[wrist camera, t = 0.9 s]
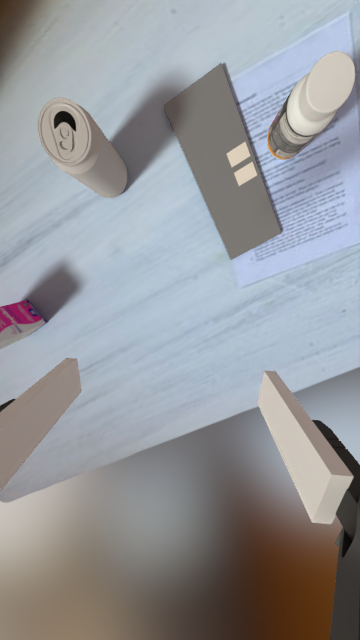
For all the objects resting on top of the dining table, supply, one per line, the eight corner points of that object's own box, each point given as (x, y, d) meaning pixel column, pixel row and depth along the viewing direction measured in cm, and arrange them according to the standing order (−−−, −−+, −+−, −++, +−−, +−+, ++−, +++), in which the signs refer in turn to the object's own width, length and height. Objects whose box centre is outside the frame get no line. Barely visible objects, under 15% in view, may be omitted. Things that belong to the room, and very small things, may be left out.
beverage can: (129, 156, 30) (94, 95, 19) (128, 202, 32) (94, 172, 21) (90, 150, 30) (30, 86, 19) (90, 197, 32) (36, 164, 21)
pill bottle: (290, 103, 27) (343, 24, 18) (312, 139, 29) (372, 81, 19) (257, 138, 29) (290, 81, 19) (279, 171, 30) (321, 132, 21)
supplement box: (48, 321, 40) (-4, 346, 29) (29, 335, 41) (-28, 363, 30) (28, 298, 39) (-35, 315, 28) (9, 313, 40) (-59, 334, 29)
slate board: (164, 109, 28) (163, 105, 28) (220, 67, 27) (221, 62, 26) (230, 259, 34) (231, 259, 34) (279, 233, 33) (281, 233, 32)
